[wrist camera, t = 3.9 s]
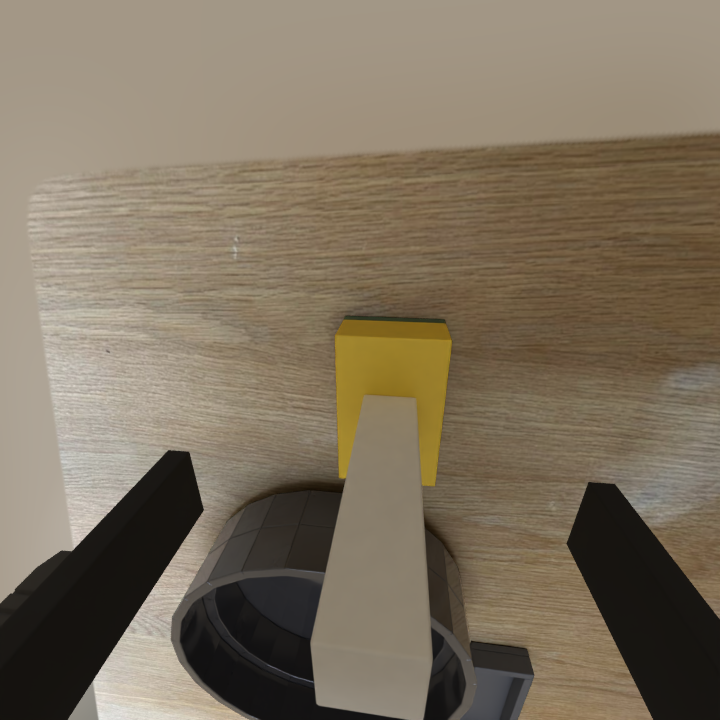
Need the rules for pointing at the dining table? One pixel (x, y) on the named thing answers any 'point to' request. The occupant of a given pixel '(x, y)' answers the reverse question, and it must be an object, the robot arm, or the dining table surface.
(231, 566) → the bowl
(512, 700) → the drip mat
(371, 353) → the sponge brush
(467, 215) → the dining table surface
